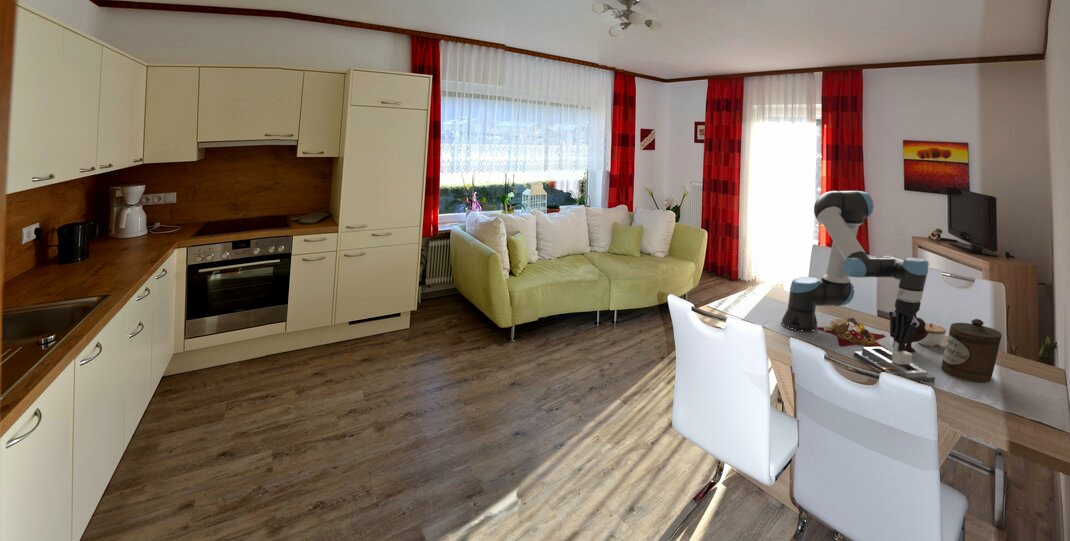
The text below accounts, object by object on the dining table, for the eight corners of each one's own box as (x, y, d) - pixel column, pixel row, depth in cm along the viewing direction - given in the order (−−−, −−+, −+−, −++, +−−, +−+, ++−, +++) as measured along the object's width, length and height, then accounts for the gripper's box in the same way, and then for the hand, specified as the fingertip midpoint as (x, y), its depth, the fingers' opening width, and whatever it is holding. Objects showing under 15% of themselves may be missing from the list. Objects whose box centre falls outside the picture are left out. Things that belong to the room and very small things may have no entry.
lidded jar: (947, 349, 212) (952, 329, 209) (919, 347, 214) (924, 327, 211) (933, 339, 222) (938, 320, 219) (906, 337, 224) (911, 318, 221)
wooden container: (933, 363, 199) (945, 311, 193) (978, 367, 195) (991, 315, 189) (951, 379, 185) (965, 324, 180) (999, 385, 181) (1015, 329, 175)
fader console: (853, 355, 205) (855, 347, 204) (885, 354, 206) (887, 346, 205) (898, 383, 182) (900, 373, 181) (934, 382, 183) (936, 372, 182)
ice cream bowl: (917, 346, 214) (924, 314, 210) (927, 357, 204) (935, 323, 200) (888, 343, 218) (895, 311, 214) (897, 353, 208) (904, 320, 204)
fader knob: (890, 366, 192) (893, 351, 190) (902, 365, 192) (905, 350, 190) (897, 370, 188) (900, 355, 187) (909, 369, 189) (912, 354, 187)
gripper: (886, 294, 192) (875, 350, 198) (913, 305, 179) (900, 365, 185) (904, 293, 192) (892, 350, 198) (932, 304, 179) (919, 364, 186)
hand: (896, 357), depth 192 cm, fingers closed
